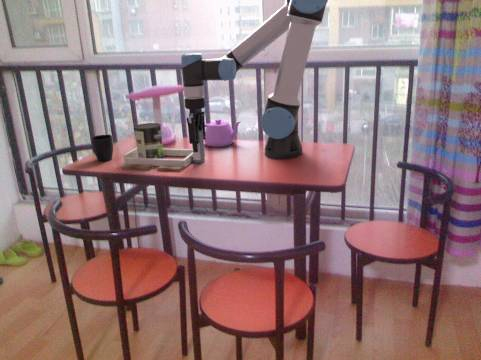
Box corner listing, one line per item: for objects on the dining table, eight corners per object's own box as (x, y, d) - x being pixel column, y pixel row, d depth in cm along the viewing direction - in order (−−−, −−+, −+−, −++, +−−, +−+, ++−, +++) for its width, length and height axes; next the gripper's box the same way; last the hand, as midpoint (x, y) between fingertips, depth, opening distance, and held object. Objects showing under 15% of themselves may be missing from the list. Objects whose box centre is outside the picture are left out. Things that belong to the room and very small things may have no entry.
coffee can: (168, 156, 172) (164, 122, 168) (158, 164, 163) (154, 128, 158) (144, 156, 174) (140, 122, 170) (133, 163, 165) (129, 128, 160)
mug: (122, 154, 179) (119, 132, 175) (109, 162, 167) (106, 139, 164) (104, 154, 180) (101, 132, 177) (90, 162, 169) (86, 139, 166)
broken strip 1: (152, 167, 159) (152, 165, 159) (149, 170, 157) (149, 167, 156) (126, 166, 162) (126, 163, 162) (122, 168, 159) (122, 166, 159)
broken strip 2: (183, 168, 156) (183, 166, 156) (180, 171, 153) (180, 168, 153) (161, 167, 158) (161, 165, 158) (157, 170, 156) (157, 167, 155)
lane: (209, 156, 170) (207, 126, 166) (196, 167, 156) (193, 136, 152) (142, 153, 177) (139, 125, 173) (124, 164, 164) (120, 134, 160)
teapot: (237, 149, 179) (236, 123, 175) (194, 147, 185) (192, 122, 181) (246, 141, 191) (246, 117, 187) (206, 139, 197) (204, 116, 193)
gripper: (193, 93, 164) (197, 151, 172) (175, 101, 148) (181, 164, 156) (211, 93, 162) (215, 152, 170) (195, 101, 146) (200, 165, 154)
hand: (199, 157), depth 163 cm, fingers closed on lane, 4 cm apart
